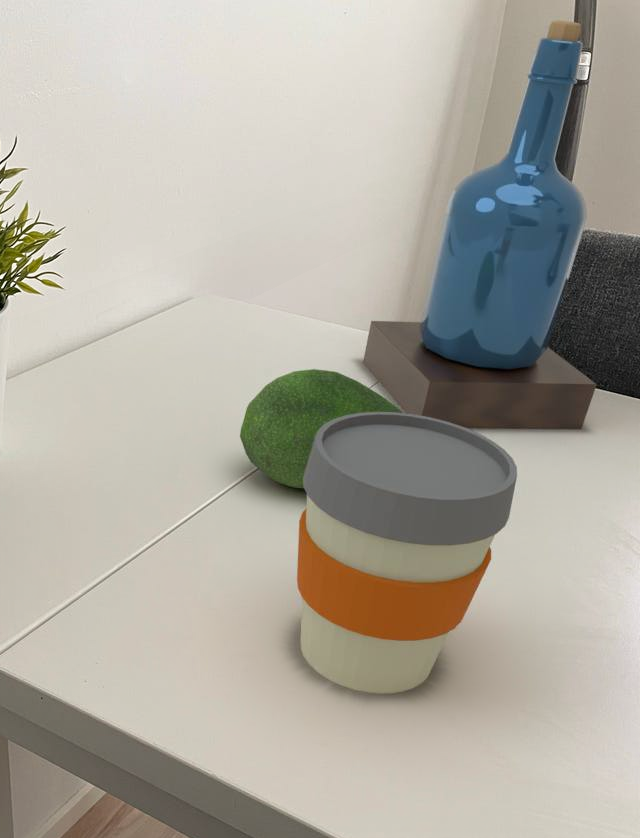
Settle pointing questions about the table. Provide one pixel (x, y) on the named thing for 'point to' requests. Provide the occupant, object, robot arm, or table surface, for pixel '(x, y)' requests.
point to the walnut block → (475, 385)
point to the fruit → (300, 419)
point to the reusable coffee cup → (394, 543)
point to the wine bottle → (511, 231)
